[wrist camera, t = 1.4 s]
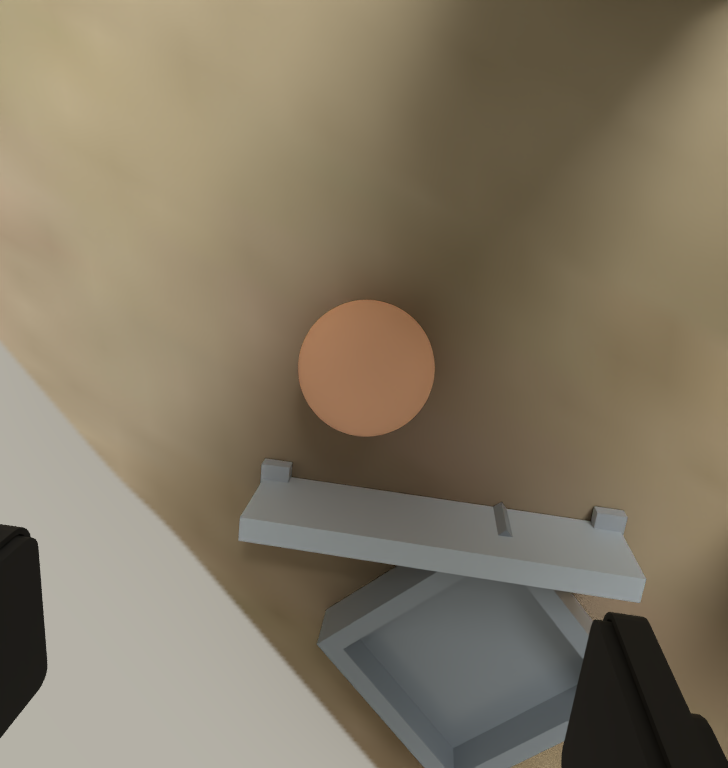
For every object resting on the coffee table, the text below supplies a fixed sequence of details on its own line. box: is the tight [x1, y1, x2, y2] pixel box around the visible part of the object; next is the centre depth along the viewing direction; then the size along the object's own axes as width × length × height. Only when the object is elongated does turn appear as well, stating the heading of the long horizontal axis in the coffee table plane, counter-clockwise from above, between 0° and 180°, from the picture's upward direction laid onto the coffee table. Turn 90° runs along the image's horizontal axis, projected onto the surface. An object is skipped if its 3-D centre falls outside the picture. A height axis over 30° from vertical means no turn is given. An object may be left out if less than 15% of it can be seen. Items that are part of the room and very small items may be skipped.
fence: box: [239, 458, 646, 603], centre depth 26 cm, size 2×15×4 cm, turn 84°
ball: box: [298, 300, 435, 437], centre depth 24 cm, size 5×5×5 cm
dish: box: [317, 502, 593, 768], centre depth 28 cm, size 10×10×2 cm
